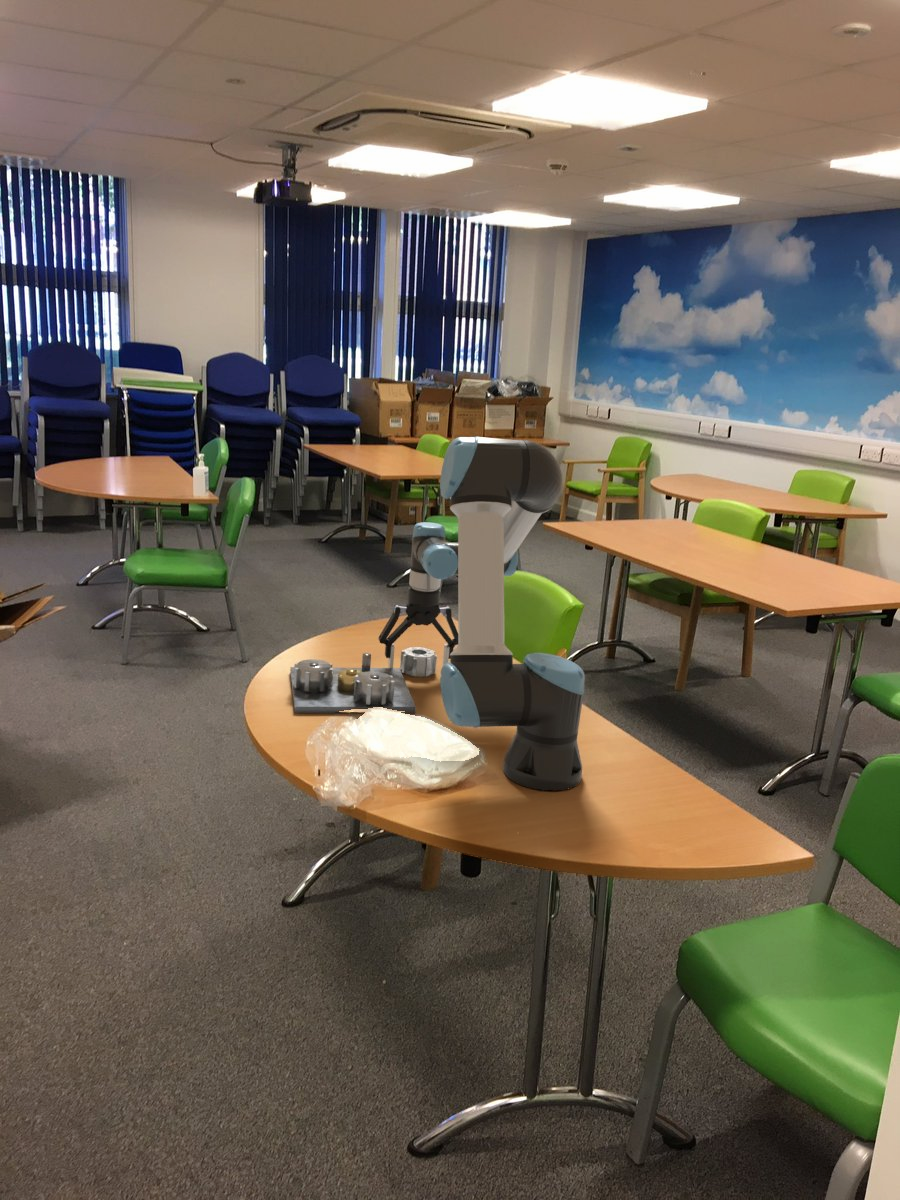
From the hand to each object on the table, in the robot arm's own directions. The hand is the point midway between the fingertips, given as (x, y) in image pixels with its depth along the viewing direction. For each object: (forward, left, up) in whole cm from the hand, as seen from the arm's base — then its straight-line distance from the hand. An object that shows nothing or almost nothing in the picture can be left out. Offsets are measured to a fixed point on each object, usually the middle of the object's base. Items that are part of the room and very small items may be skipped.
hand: (417, 670), depth 228 cm
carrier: (-14, +18, 0) cm, 23 cm away
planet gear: (0, 0, 0) cm, 0 cm away
